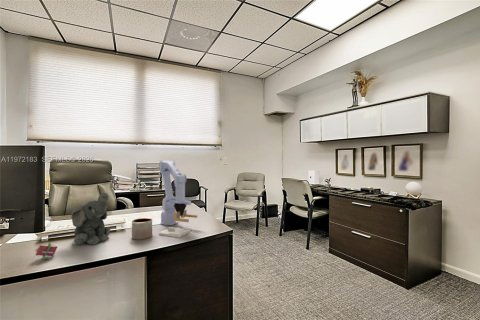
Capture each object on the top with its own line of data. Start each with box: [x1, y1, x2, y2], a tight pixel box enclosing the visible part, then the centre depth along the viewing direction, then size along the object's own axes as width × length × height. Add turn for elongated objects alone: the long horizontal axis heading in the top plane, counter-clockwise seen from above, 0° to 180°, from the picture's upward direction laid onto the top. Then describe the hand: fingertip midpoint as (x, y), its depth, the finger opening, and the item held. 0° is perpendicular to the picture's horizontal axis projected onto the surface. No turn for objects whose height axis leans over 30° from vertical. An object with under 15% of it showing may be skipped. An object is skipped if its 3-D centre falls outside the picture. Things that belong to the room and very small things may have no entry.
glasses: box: [174, 208, 198, 223], centre depth 145 cm, size 10×12×4 cm
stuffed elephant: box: [70, 192, 111, 245], centre depth 127 cm, size 19×21×27 cm
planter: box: [131, 217, 153, 241], centre depth 133 cm, size 11×11×10 cm
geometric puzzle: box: [35, 241, 58, 260], centre depth 104 cm, size 7×7×8 cm
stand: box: [158, 226, 192, 238], centre depth 139 cm, size 14×12×3 cm
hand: (180, 215), depth 146 cm, fingers closed on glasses, 2 cm apart
